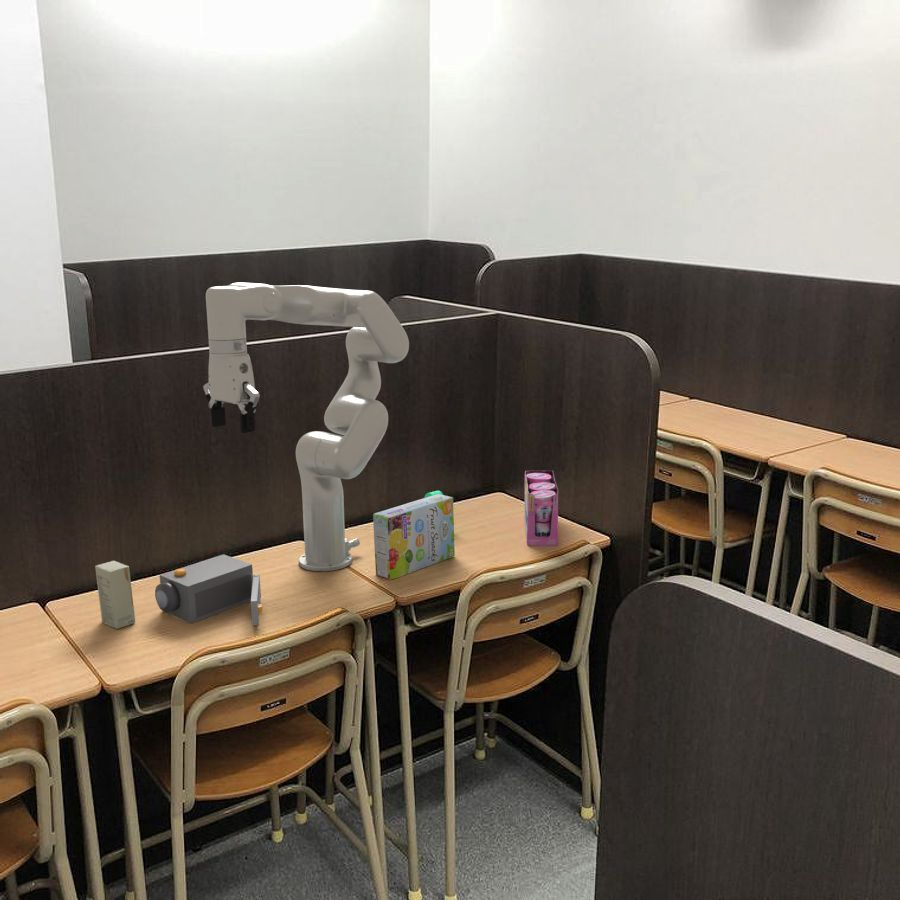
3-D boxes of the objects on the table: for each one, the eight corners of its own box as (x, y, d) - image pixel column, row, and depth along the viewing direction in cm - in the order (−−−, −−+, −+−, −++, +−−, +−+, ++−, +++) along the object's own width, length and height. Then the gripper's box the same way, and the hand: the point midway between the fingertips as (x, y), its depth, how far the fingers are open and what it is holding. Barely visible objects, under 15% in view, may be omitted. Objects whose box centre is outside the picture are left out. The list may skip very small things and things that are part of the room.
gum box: (558, 548, 232) (559, 495, 229) (526, 548, 233) (527, 495, 230) (553, 518, 256) (553, 470, 252) (523, 518, 256) (524, 469, 253)
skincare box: (136, 623, 191) (130, 566, 188) (116, 630, 188) (110, 572, 185) (119, 615, 195) (114, 559, 192) (100, 621, 192) (94, 564, 189)
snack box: (438, 551, 231) (438, 492, 227) (455, 557, 227) (455, 497, 223) (374, 575, 216) (372, 512, 212) (390, 581, 212) (389, 517, 209)
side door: (254, 596, 202) (253, 574, 201) (264, 595, 202) (263, 573, 201) (251, 625, 188) (250, 601, 187) (262, 624, 188) (261, 600, 187)
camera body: (225, 588, 209) (223, 550, 207) (254, 599, 202) (252, 561, 200) (151, 614, 195) (148, 574, 193) (179, 627, 189) (176, 586, 187)
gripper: (269, 348, 191) (274, 431, 195) (217, 342, 202) (222, 420, 206) (239, 352, 185) (244, 437, 189) (187, 346, 196) (193, 426, 200)
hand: (233, 428), depth 198 cm, fingers open, 9 cm apart
